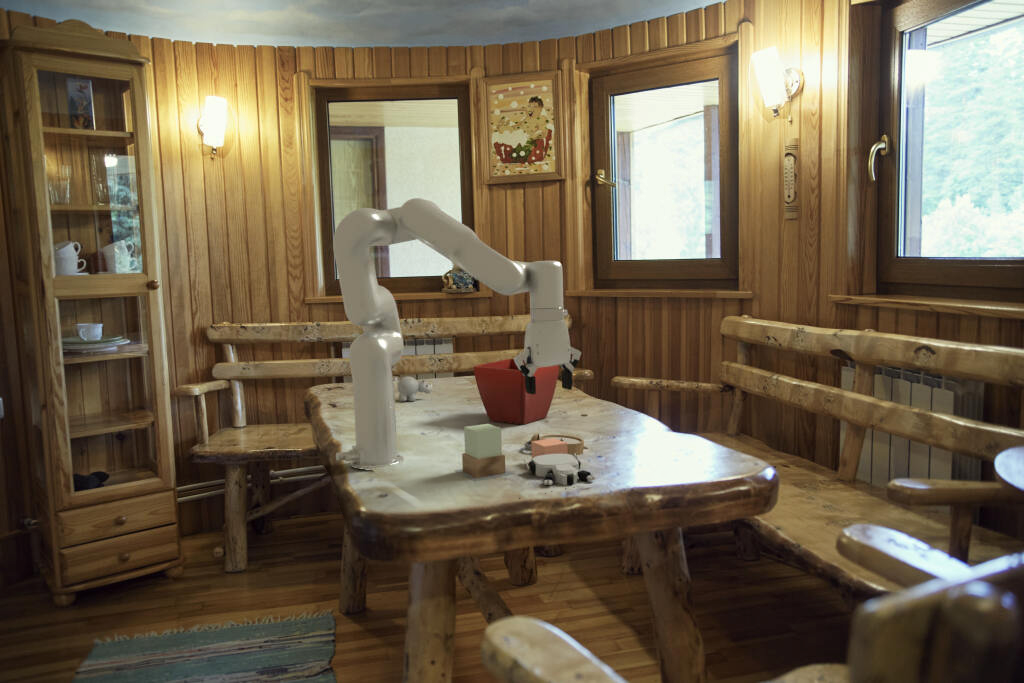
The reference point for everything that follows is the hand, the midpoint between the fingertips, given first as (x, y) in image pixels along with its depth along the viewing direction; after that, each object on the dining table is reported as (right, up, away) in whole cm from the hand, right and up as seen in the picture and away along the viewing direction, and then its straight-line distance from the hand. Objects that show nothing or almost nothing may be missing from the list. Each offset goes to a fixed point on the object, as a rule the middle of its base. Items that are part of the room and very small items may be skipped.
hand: (549, 391), depth 179 cm
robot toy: (+2, -19, -9) cm, 21 cm away
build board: (-15, -19, -4) cm, 24 cm away
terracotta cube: (0, -18, +2) cm, 18 cm away
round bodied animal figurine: (-42, -9, +95) cm, 104 cm away
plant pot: (-7, -12, +58) cm, 59 cm away
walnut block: (-15, -18, -4) cm, 23 cm away
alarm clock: (+2, -17, +16) cm, 23 cm away
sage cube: (-15, -14, -5) cm, 21 cm away
